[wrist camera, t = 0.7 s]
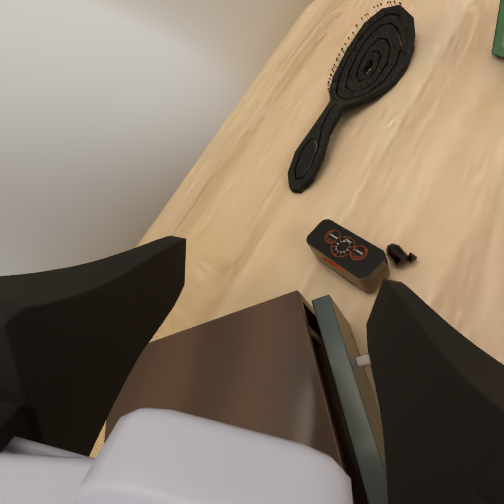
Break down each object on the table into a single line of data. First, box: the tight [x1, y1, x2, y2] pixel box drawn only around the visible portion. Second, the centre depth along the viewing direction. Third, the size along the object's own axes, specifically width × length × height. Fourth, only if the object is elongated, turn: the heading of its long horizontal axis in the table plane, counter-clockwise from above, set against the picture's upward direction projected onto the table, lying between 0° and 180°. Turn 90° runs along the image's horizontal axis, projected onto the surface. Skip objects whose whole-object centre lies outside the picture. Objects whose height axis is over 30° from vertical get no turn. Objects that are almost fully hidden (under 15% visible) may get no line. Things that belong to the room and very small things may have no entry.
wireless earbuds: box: [307, 219, 417, 293], centre depth 27 cm, size 5×7×3 cm, turn 42°
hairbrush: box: [288, 1, 415, 193], centre depth 37 cm, size 8×4×25 cm
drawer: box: [309, 295, 388, 504], centre depth 21 cm, size 20×13×6 cm, turn 100°
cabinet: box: [104, 291, 362, 504], centre depth 22 cm, size 15×14×8 cm
